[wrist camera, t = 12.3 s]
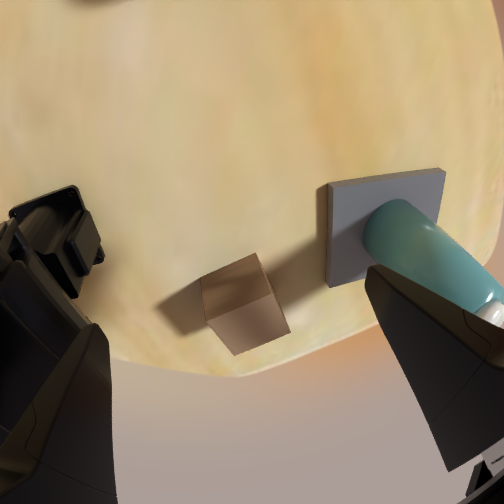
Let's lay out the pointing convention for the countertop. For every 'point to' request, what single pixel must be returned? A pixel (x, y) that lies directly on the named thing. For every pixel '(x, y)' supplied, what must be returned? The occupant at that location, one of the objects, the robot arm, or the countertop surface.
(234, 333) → the walnut block
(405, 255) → the spice jar
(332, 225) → the slate coaster
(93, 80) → the countertop surface
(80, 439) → the robot arm
